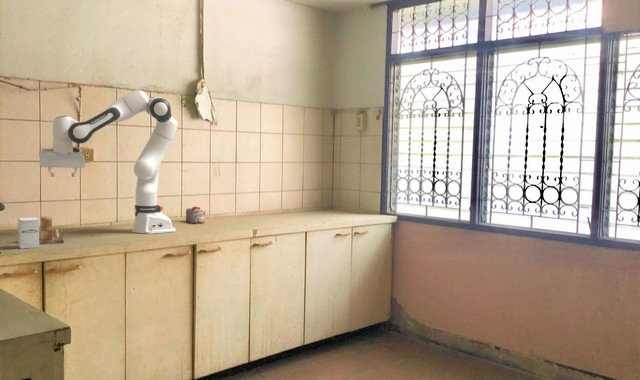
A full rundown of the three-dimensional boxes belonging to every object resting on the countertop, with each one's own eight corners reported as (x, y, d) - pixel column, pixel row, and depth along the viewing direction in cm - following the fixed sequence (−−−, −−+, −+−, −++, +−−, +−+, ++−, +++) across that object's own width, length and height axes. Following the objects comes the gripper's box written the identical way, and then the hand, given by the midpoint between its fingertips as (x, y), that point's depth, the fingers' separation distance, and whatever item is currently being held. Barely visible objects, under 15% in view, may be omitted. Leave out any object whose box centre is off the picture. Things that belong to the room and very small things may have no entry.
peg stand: (62, 238, 255) (62, 228, 255) (63, 243, 243) (63, 233, 243) (29, 239, 249) (28, 229, 248) (28, 244, 236) (28, 234, 236)
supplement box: (20, 249, 227) (19, 219, 226) (18, 246, 233) (17, 217, 232) (39, 247, 231) (39, 219, 230) (36, 244, 237) (36, 216, 236)
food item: (207, 223, 319) (207, 207, 318) (196, 224, 313) (196, 208, 313) (194, 220, 329) (194, 205, 328) (183, 221, 323) (183, 205, 322)
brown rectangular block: (51, 237, 250) (51, 216, 249) (52, 239, 244) (51, 218, 243) (40, 237, 248) (40, 216, 247) (40, 240, 242) (40, 218, 241)
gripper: (39, 148, 254) (39, 177, 256) (85, 149, 264) (85, 177, 265) (38, 148, 260) (39, 176, 261) (84, 149, 270) (84, 176, 271)
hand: (62, 176), depth 263 cm, fingers open, 8 cm apart
